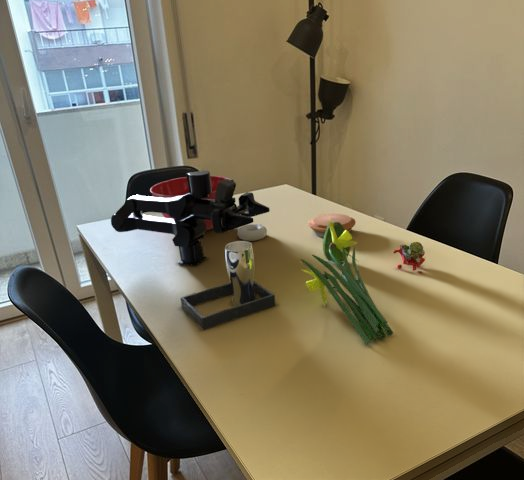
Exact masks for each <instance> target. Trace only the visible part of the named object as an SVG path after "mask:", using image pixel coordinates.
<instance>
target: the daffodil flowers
mask: <svg viewBox="0 0 524 480" xmlns="http://www.w3.org/2000/svg"><path fill="white" fill-rule="evenodd" d="M329 228H330V231H331V235H332V241H333V243H331V244H330V246H329V254H330V256H331V257H332V259H333V260H332V261H331V260H327V259H323V258H321V257H319V256H317V255H315V254H311V255H312V257H313V258H314V259H315V260H317V261H318V262H319V263H321V264H322V265H323V266H324V267H325V268H326V269H327V270H328V271H329V272H331V274H330V273H329V272H327V271H326V270H323V273H322V272H321V271H320V270H318V268H316V267H315V266H313V265H312V264H311V263H309V262H308V261H307V260H305V259H303V258H300V260H298V262H299V263H301V262H302V264H303V265H305V266H306V267H307V268H308V269H309V270H305V269H301V271H302V272H303V273H306V274H308V275H310V276H311V277H313V279H310V280H307V281H305V285H306V287H307V290H309V292H315V291H319V290H320V294H321V299H322V303H323V306H324V307H326V303H327V293H326V290H328V292H329V294H330V295H331V296H332V297H333V299H334V300H335V302H336V303H337V305H338V307H339V308H340V309H341V310H342V312H343V313H344V315H345V316H346V317H347V319H348V321H349V322H350V324H351V325H352V326H353V328H354V329H355V331H356V332H357V333H358V335H359V336H360V338H361V340H362V341H363V343H364V344H365V345H366V346H367V345H369V344H370V343H371V341H375V340H376V339H377V338H380V340H381V341H383V340H384V339H386V338H387V337H388V336H389V337H391V336H392V335H393V334H394V331H393V329H392V328H391V326H390V325H389V324H388V321H387V320H386V318H385V317H384V316H383V314H382V313H381V311H379V309H378V307H377V306H376V304H375V302H374V300H373V299H372V297H371V295H370V293H369V291H368V289H367V287H366V285H365V283H364V281H363V279H362V277H361V274H360V269H358V267H357V262H358V263H359V260H358V259H356V246H355V245H356V244H358V242H357V241H355V240H353V236H352V234H351V231H350V232H349V233H348V231H347V230H345V231H344V232H343V234H342V235H341V236H340V237H339V238H338V239H337V235H336V233H335V230H334V227H333V224H332V221H331V219H330V222H329ZM349 240H350V241H349ZM349 246H350V247H352V246H354V247H353V250H352V255H351V254H350V252H349V253H348V252H347V251H346V250H345V249H344V248H345V247H349ZM336 248H337V249H340V250H341V251H342V252H343V259H344V261H343V264H342V262H340V261H339V259H338V258H337V257H336V255H335V254H334V250H335V249H336ZM346 254H348V257H347V256H346ZM349 257H350V258H351V262H352V267H353V270H354V273H355V274H356V277H355V275H354V273H353V271H352V269H351V265H350V264H349V261H348V260H350V258H349ZM332 264H333V265H335V267H336V268H337V269H338V270H339V271H340V273H339V271H337V269H336V268H335V267H334V266H333V265H332ZM340 284H341V285H342V286H343V287H342V286H341V285H340ZM325 288H326V290H325ZM343 288H344V289H343ZM345 290H346V291H347V292H348V293H349V294H350V296H349V294H348V293H346V292H345ZM340 296H341V297H342V298H341V297H340ZM343 300H344V301H343ZM345 303H346V304H345ZM347 306H348V307H347Z"/></svg>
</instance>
